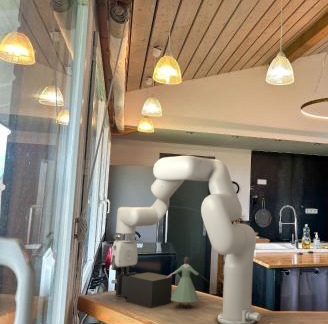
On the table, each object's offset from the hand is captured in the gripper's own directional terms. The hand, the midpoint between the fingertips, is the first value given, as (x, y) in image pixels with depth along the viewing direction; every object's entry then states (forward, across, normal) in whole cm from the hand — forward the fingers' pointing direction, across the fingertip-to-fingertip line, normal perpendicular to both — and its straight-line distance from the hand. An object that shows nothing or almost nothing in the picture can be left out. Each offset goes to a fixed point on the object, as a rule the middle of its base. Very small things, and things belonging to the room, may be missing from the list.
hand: (122, 283), depth 154 cm
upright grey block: (+4, 0, -16) cm, 17 cm away
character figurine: (+5, +4, -32) cm, 32 cm away
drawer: (+4, 0, -6) cm, 7 cm away
